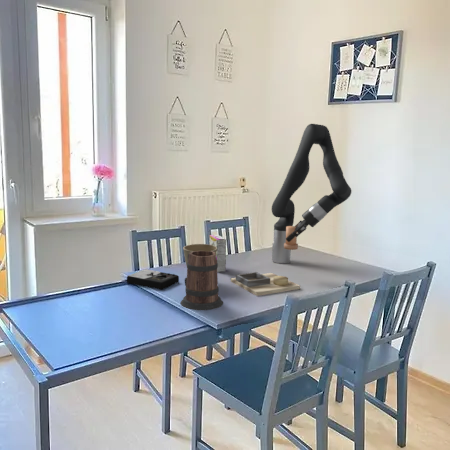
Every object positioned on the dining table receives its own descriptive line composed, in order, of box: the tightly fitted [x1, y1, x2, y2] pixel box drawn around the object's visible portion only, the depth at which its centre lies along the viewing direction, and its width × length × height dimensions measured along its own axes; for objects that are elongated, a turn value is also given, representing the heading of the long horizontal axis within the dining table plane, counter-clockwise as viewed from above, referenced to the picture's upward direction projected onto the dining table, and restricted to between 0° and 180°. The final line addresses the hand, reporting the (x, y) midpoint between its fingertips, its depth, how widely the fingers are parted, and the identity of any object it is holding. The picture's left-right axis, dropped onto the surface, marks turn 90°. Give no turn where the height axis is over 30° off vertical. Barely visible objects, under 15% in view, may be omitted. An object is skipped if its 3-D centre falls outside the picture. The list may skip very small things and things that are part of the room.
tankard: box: [180, 251, 224, 311], centre depth 184 cm, size 24×17×20 cm
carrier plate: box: [230, 271, 301, 297], centre depth 206 cm, size 22×22×4 cm
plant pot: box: [182, 243, 217, 267], centre depth 207 cm, size 15×15×16 cm
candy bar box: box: [208, 234, 227, 273], centre depth 229 cm, size 11×5×16 cm, turn 22°
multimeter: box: [126, 268, 180, 291], centre depth 207 cm, size 13×19×5 cm
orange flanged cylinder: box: [284, 225, 299, 251], centre depth 217 cm, size 6×6×10 cm
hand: (287, 239), depth 217 cm, fingers closed on orange flanged cylinder, 5 cm apart
